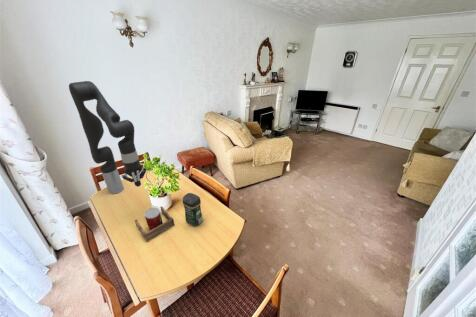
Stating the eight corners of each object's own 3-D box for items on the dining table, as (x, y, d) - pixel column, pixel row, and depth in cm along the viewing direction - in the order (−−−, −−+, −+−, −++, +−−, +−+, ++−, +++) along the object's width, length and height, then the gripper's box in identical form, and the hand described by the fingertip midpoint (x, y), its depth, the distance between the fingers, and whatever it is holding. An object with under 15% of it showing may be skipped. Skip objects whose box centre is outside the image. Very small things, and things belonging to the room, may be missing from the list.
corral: (136, 226, 111) (134, 220, 109) (163, 212, 121) (162, 206, 119) (146, 241, 103) (144, 235, 100) (174, 225, 112) (173, 219, 110)
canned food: (158, 233, 107) (154, 218, 102) (145, 230, 109) (141, 216, 104) (166, 222, 114) (162, 208, 109) (153, 220, 115) (149, 206, 110)
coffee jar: (183, 221, 115) (179, 197, 106) (192, 213, 121) (189, 189, 112) (195, 229, 110) (192, 203, 101) (205, 220, 116) (202, 195, 107)
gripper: (140, 152, 107) (147, 178, 116) (114, 160, 99) (123, 187, 108) (146, 157, 103) (152, 183, 111) (118, 166, 95) (128, 194, 103)
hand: (138, 185), depth 110 cm, fingers closed
